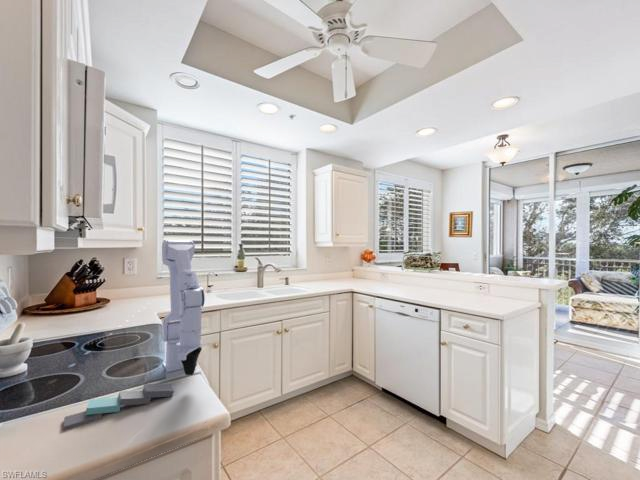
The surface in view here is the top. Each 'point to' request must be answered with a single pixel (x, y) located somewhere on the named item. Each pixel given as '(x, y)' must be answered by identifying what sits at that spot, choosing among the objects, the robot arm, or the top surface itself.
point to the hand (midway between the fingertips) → (189, 373)
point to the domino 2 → (102, 406)
